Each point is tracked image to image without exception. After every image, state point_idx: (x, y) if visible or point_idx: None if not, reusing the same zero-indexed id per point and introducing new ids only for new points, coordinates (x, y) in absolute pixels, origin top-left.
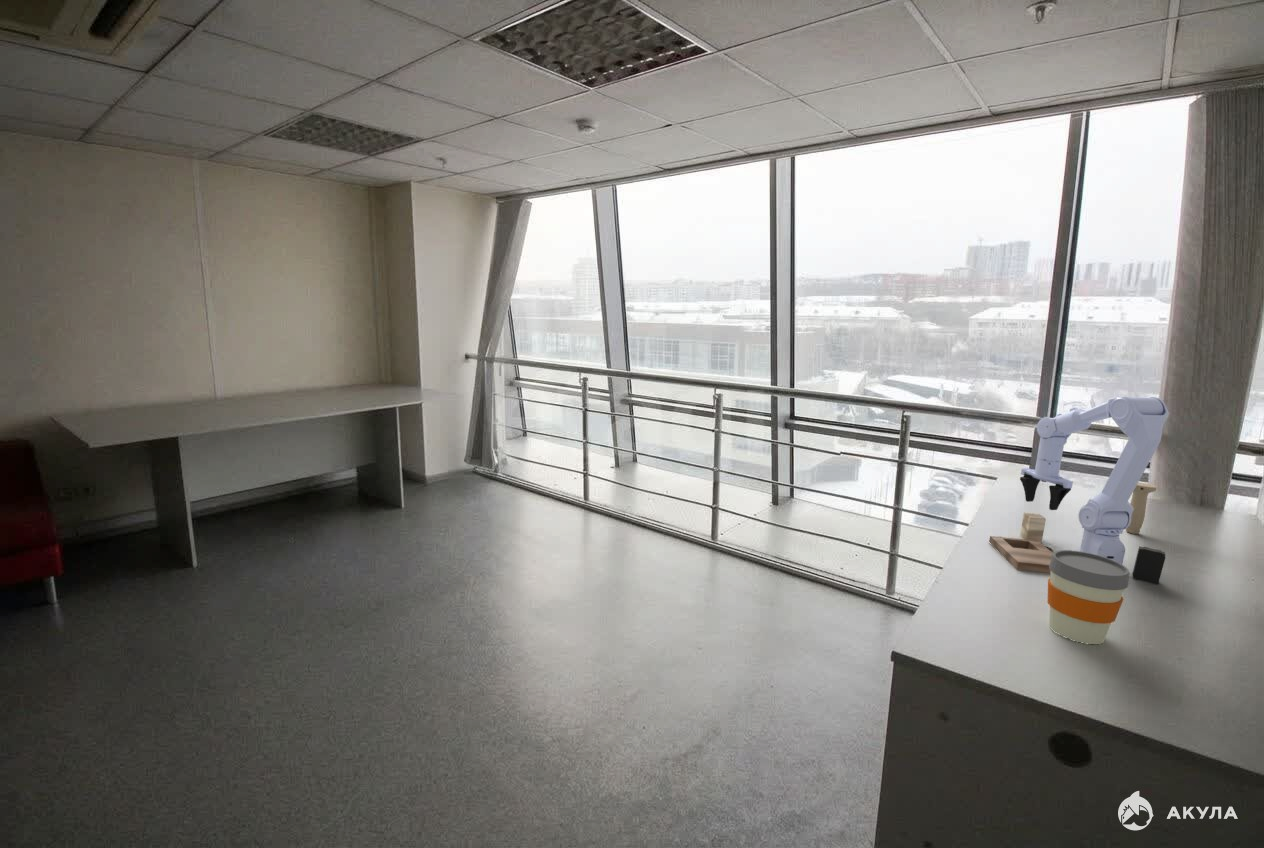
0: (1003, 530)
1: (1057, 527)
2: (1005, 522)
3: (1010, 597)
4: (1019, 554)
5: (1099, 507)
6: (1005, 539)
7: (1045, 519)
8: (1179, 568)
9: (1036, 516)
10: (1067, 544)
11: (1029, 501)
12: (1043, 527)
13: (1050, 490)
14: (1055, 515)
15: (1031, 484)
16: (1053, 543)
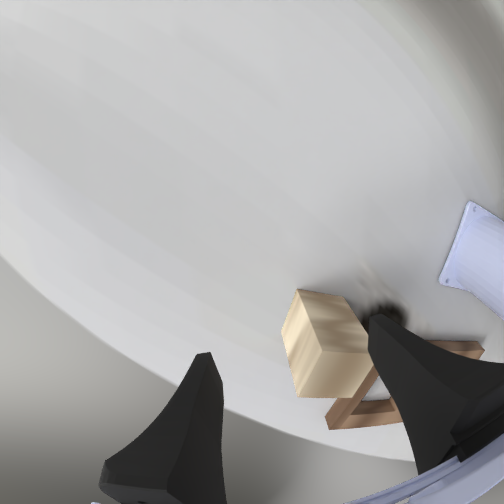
0: (231, 353)
1: (172, 100)
2: (138, 298)
3: None
4: None
5: None
6: (352, 410)
7: None
8: (495, 50)
9: (350, 376)
10: (371, 216)
11: (218, 372)
12: (362, 331)
13: (418, 453)
14: (43, 34)
15: (211, 473)
16: (357, 263)
